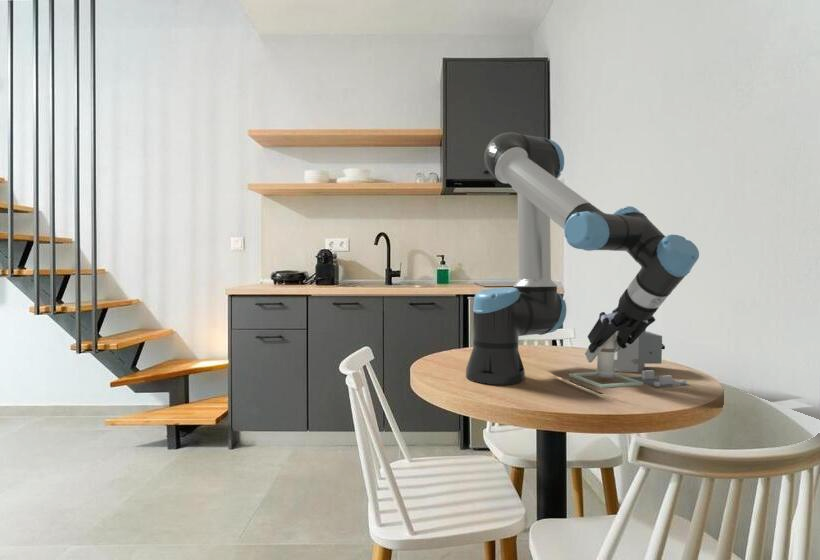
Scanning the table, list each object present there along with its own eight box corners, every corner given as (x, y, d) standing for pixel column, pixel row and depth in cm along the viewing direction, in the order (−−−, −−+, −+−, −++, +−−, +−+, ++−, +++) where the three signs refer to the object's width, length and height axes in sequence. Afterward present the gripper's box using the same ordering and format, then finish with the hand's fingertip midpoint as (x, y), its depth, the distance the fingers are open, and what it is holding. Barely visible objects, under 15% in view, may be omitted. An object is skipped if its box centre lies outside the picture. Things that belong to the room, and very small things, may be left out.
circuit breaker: (667, 377, 125) (669, 321, 124) (613, 377, 125) (614, 321, 124) (653, 371, 132) (654, 318, 131) (602, 370, 132) (603, 317, 132)
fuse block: (656, 394, 108) (656, 379, 108) (624, 383, 118) (625, 369, 118) (690, 391, 111) (690, 376, 111) (656, 381, 121) (657, 367, 121)
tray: (601, 394, 108) (601, 385, 108) (568, 381, 119) (569, 373, 119) (643, 390, 112) (643, 382, 111) (607, 378, 123) (608, 371, 123)
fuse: (604, 377, 113) (605, 328, 112) (593, 374, 117) (594, 326, 116) (617, 376, 114) (619, 327, 114) (606, 373, 118) (607, 325, 117)
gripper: (616, 311, 98) (571, 371, 115) (685, 310, 101) (632, 368, 118) (601, 284, 103) (560, 346, 120) (667, 284, 106) (619, 344, 123)
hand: (596, 357), depth 119 cm, fingers closed on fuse, 4 cm apart
